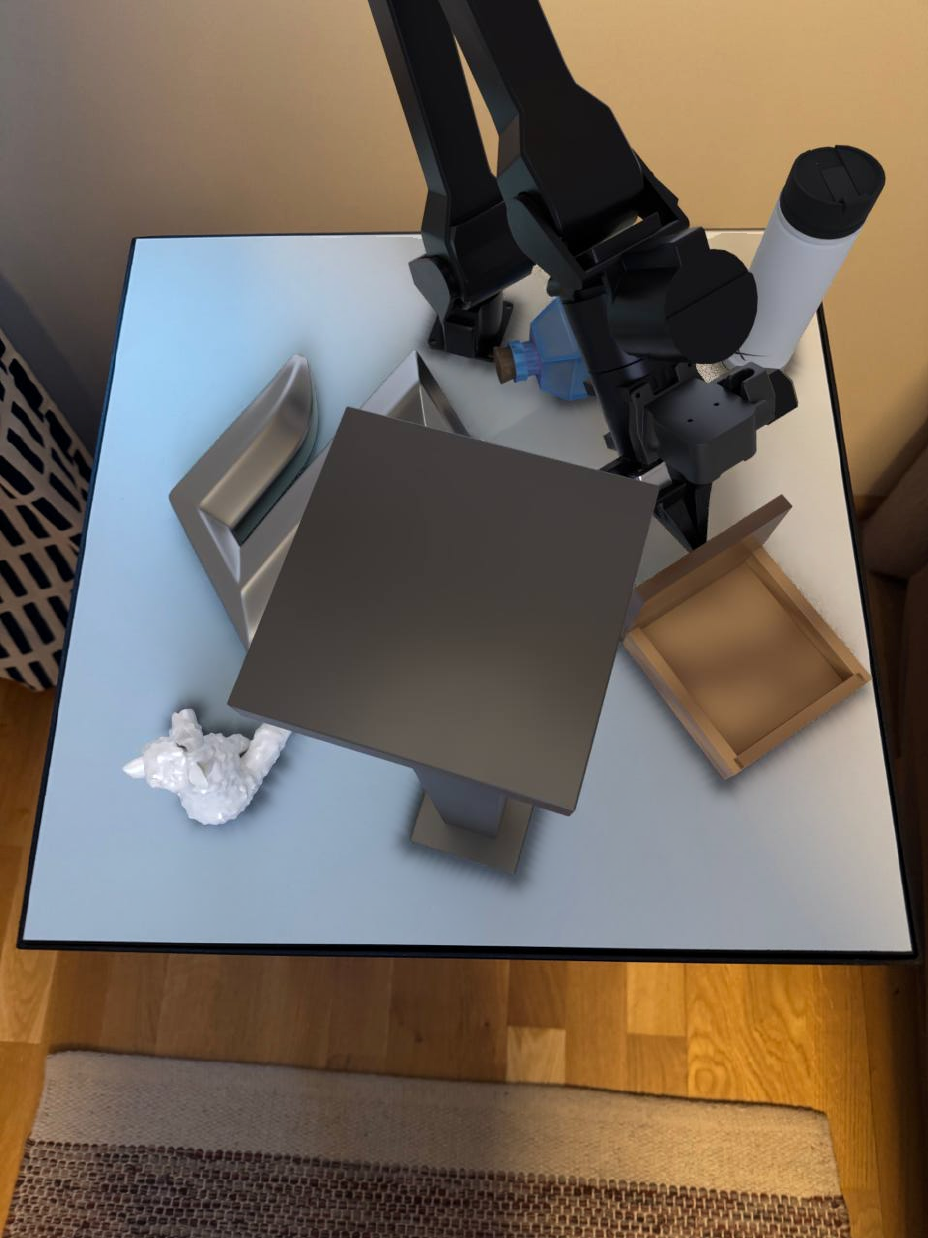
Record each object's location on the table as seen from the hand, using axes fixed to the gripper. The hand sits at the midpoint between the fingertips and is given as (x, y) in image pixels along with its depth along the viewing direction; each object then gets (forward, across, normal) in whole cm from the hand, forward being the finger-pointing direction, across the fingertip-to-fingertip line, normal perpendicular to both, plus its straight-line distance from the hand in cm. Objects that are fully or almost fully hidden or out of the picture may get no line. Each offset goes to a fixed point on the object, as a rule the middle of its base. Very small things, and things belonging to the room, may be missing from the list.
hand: (697, 552), depth 61 cm
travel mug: (-5, +19, +15) cm, 25 cm away
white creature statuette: (0, -38, +10) cm, 39 cm away
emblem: (-10, -19, +20) cm, 29 cm away
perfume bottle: (-12, +10, +17) cm, 23 cm away
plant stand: (+9, -23, +1) cm, 25 cm away
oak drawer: (+10, 0, 0) cm, 10 cm away
